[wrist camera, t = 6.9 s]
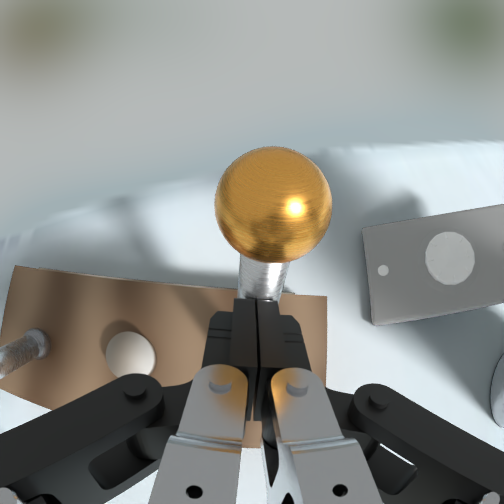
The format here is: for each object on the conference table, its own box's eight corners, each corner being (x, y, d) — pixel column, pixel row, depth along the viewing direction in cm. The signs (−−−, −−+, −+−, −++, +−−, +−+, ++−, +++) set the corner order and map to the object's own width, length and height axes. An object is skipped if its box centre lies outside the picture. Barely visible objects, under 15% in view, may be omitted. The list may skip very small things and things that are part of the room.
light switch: (359, 222, 25) (507, 197, 19) (366, 248, 30) (492, 226, 24) (371, 322, 21) (534, 291, 16) (375, 331, 26) (510, 306, 21)
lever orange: (273, 347, 19) (332, 135, 8) (272, 395, 16) (359, 201, 6) (221, 343, 18) (222, 123, 8) (217, 391, 16) (204, 186, 6)
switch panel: (312, 304, 23) (332, 285, 19) (307, 436, 19) (327, 451, 15) (40, 276, 23) (8, 254, 18) (23, 388, 19) (-14, 385, 14)
